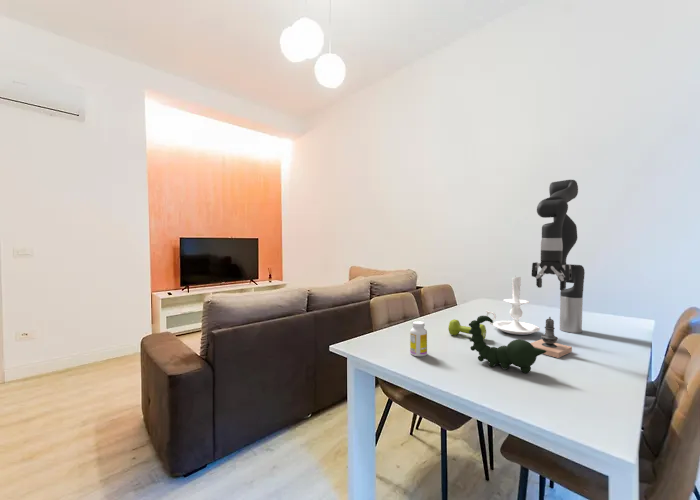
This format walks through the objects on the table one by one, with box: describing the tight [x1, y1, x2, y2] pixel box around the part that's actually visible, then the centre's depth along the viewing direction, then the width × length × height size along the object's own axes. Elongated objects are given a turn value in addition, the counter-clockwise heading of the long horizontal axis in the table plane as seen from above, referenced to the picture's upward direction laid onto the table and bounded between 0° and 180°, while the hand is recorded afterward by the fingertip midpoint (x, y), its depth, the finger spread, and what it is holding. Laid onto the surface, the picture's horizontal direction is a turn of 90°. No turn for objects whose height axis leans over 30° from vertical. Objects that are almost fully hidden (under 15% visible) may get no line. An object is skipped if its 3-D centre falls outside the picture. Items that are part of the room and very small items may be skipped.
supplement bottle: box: [409, 320, 428, 358], centre depth 129 cm, size 7×7×13 cm
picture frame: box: [530, 338, 573, 359], centre depth 133 cm, size 2×12×12 cm
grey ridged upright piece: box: [540, 316, 559, 348], centre depth 133 cm, size 6×6×12 cm
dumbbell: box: [447, 318, 487, 340], centre depth 151 cm, size 16×8×7 cm, turn 46°
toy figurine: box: [468, 315, 546, 374], centre depth 116 cm, size 9×19×25 cm
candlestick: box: [485, 275, 541, 336], centre depth 160 cm, size 21×25×28 cm
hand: (550, 288), depth 132 cm, fingers open, 8 cm apart
